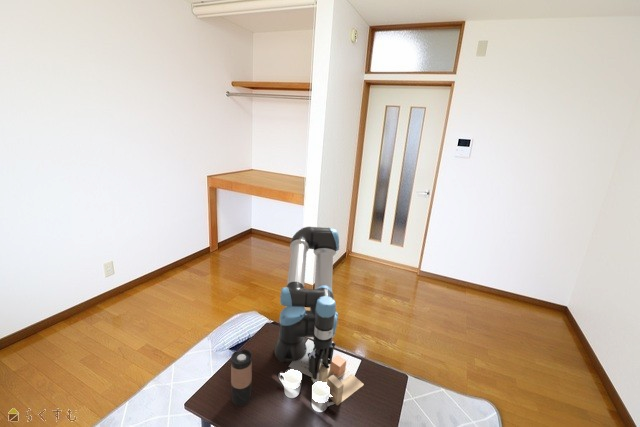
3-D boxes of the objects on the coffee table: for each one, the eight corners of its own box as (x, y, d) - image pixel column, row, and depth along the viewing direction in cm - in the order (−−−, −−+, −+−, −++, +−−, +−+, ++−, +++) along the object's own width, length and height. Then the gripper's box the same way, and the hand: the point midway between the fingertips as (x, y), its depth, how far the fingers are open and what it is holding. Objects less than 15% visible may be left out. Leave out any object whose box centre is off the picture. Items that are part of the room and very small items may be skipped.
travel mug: (244, 409, 114) (244, 367, 108) (227, 402, 116) (226, 360, 110) (255, 393, 121) (255, 352, 115) (239, 387, 123) (238, 346, 117)
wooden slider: (310, 380, 128) (312, 363, 126) (337, 363, 139) (339, 347, 136) (321, 392, 123) (323, 374, 121) (348, 373, 134) (350, 356, 131)
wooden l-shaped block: (324, 395, 122) (326, 377, 119) (351, 376, 132) (353, 359, 130) (337, 407, 117) (339, 389, 114) (363, 386, 127) (366, 369, 125)
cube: (329, 370, 133) (330, 360, 132) (336, 363, 137) (337, 354, 135) (338, 376, 130) (339, 366, 129) (345, 369, 134) (346, 360, 133)
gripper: (314, 348, 112) (309, 397, 118) (344, 331, 122) (338, 377, 129) (301, 337, 117) (298, 385, 124) (331, 321, 127) (327, 366, 134)
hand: (319, 381), depth 126 cm, fingers closed on wooden slider, 3 cm apart
